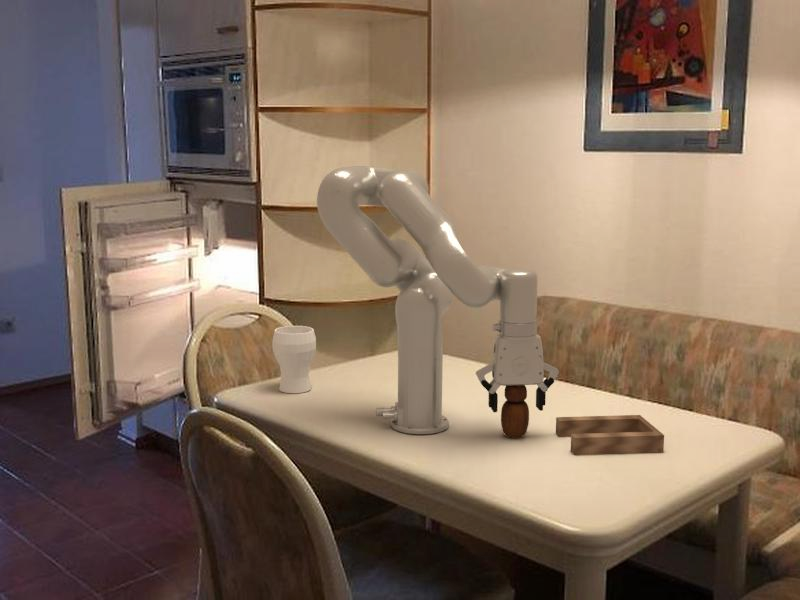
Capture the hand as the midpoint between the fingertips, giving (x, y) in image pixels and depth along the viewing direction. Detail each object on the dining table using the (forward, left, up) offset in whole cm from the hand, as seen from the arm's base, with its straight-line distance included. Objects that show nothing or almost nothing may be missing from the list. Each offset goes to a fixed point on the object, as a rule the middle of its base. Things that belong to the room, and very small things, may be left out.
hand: (516, 409), depth 188 cm
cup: (-46, +39, -6) cm, 61 cm away
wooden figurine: (0, 0, -6) cm, 6 cm away
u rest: (+17, -6, -6) cm, 19 cm away
